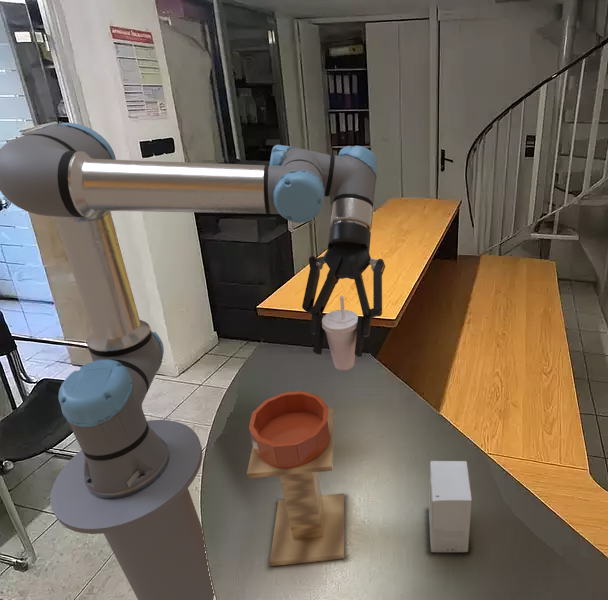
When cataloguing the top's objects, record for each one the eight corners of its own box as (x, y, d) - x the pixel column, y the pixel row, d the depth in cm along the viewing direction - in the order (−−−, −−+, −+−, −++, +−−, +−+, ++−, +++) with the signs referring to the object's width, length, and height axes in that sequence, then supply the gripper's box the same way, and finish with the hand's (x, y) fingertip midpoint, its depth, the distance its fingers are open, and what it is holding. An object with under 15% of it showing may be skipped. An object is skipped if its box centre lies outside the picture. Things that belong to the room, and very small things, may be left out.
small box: (468, 553, 80) (472, 501, 74) (430, 553, 81) (431, 501, 74) (463, 510, 87) (467, 459, 81) (428, 510, 88) (429, 460, 81)
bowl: (248, 471, 69) (243, 449, 66) (261, 415, 78) (256, 394, 76) (329, 464, 69) (326, 441, 67) (331, 409, 79) (329, 388, 77)
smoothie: (360, 374, 85) (356, 306, 78) (324, 375, 85) (316, 306, 78) (362, 353, 90) (358, 287, 84) (328, 353, 90) (321, 288, 84)
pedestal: (270, 566, 79) (246, 473, 68) (279, 503, 90) (259, 414, 79) (344, 558, 80) (331, 466, 69) (344, 497, 90) (333, 408, 80)
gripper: (405, 238, 91) (396, 360, 85) (304, 235, 93) (289, 354, 87) (401, 221, 84) (391, 353, 78) (293, 218, 86) (275, 347, 80)
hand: (337, 354), depth 82 cm, fingers closed on smoothie, 6 cm apart
